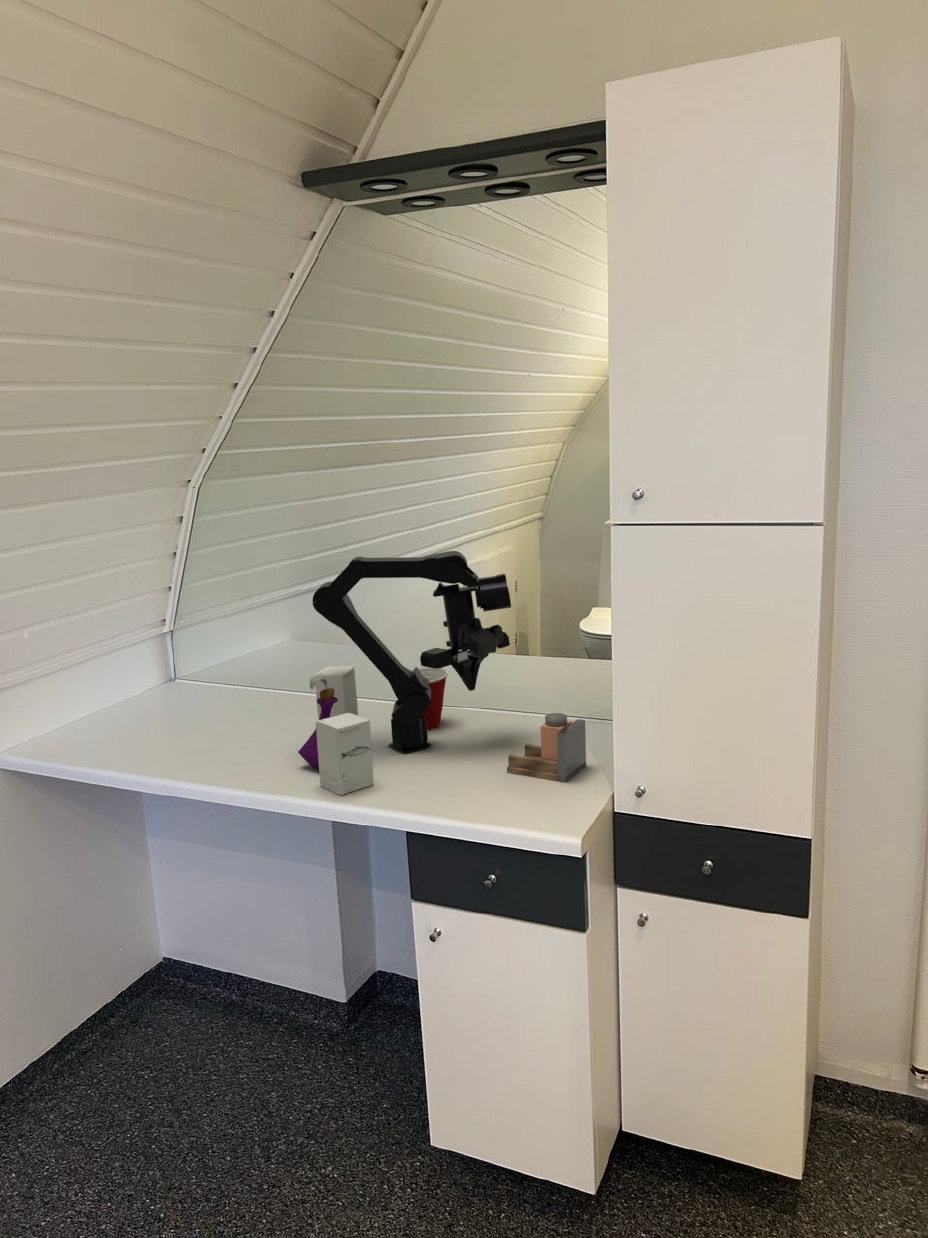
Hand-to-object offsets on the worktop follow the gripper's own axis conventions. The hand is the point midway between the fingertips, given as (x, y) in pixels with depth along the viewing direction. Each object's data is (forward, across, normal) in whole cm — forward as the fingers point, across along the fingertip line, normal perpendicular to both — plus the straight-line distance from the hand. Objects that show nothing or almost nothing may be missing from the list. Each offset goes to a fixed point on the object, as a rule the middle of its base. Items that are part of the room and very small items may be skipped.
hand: (471, 690), depth 189 cm
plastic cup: (+10, -1, +17) cm, 20 cm away
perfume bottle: (+9, -29, +11) cm, 32 cm away
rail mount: (+13, 0, -21) cm, 25 cm away
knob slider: (+12, +1, -22) cm, 25 cm away
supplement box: (+9, -32, -1) cm, 33 cm away
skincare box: (+9, -20, +22) cm, 31 cm away
